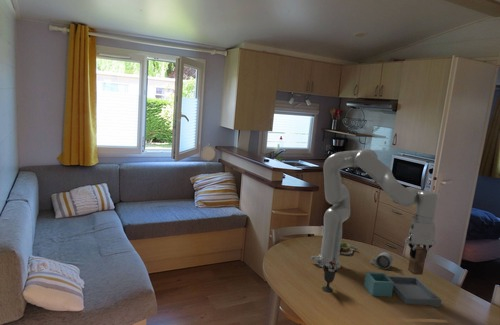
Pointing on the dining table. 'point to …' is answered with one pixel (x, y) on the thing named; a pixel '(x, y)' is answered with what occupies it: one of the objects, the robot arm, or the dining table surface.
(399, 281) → the tray
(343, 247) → the salad plate
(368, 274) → the teal open box
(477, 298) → the dining table surface
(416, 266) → the peg
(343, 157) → the robot arm
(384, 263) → the ceramic mug
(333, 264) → the sundae
